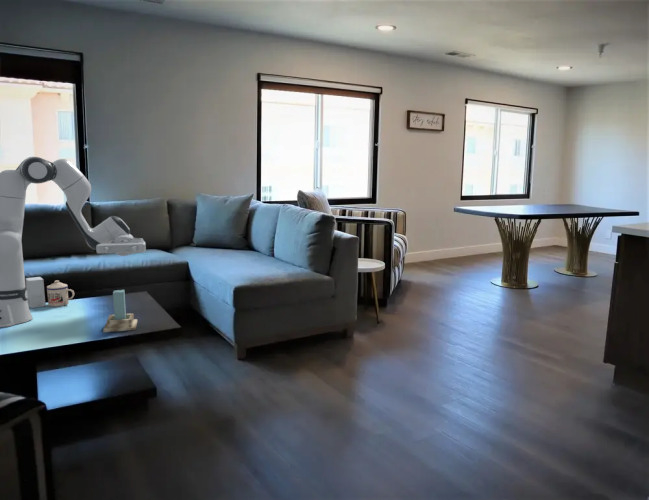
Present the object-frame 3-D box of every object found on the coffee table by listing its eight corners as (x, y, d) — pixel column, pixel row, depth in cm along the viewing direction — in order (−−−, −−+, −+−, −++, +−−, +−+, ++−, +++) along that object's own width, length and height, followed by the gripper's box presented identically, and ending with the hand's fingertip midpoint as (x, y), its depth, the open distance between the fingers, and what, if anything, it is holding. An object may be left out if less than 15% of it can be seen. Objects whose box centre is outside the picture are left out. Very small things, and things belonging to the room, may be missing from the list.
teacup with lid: (44, 307, 238) (42, 282, 236) (52, 302, 247) (50, 278, 245) (71, 306, 239) (69, 282, 238) (78, 301, 248) (76, 278, 247)
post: (115, 326, 206) (112, 292, 204) (116, 323, 210) (114, 290, 208) (125, 325, 207) (123, 291, 205) (126, 322, 211) (124, 289, 209)
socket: (103, 332, 202) (102, 322, 201) (107, 323, 213) (106, 314, 212) (135, 329, 205) (134, 320, 204) (137, 321, 216) (137, 312, 216)
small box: (46, 306, 240) (43, 279, 238) (30, 308, 236) (28, 281, 234) (42, 302, 246) (40, 276, 244) (27, 304, 242) (25, 278, 240)
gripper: (97, 239, 226) (92, 243, 212) (146, 238, 231) (144, 242, 218) (98, 253, 227) (93, 258, 213) (147, 251, 232) (145, 256, 219)
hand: (119, 250), depth 216 cm, fingers open, 8 cm apart
